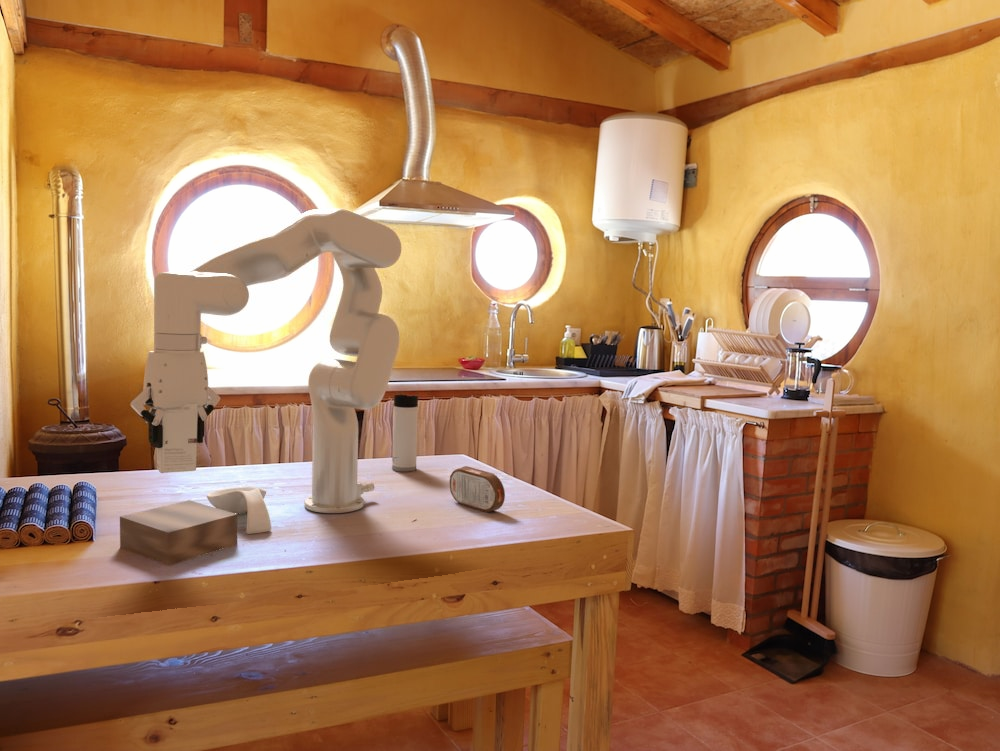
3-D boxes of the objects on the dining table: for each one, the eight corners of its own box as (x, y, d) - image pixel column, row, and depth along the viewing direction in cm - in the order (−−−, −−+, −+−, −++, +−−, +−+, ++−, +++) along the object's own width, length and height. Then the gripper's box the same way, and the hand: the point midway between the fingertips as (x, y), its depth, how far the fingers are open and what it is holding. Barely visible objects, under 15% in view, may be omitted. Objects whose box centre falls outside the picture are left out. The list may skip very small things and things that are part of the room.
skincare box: (160, 474, 137) (161, 404, 136) (155, 468, 141) (155, 401, 140) (198, 471, 141) (198, 403, 139) (192, 465, 144) (192, 399, 143)
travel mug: (388, 471, 204) (390, 394, 202) (396, 465, 210) (397, 390, 208) (412, 473, 203) (414, 395, 201) (418, 467, 209) (421, 392, 207)
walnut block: (189, 530, 152) (189, 500, 152) (237, 546, 145) (237, 514, 144) (120, 549, 141) (119, 516, 140) (168, 567, 133) (168, 532, 132)
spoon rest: (201, 506, 168) (200, 473, 167) (257, 500, 174) (257, 468, 174) (229, 539, 148) (229, 501, 148) (291, 530, 155) (291, 494, 154)
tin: (505, 513, 171) (506, 475, 170) (495, 516, 168) (496, 477, 167) (456, 499, 181) (457, 462, 180) (446, 501, 178) (447, 464, 177)
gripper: (212, 341, 147) (211, 436, 149) (117, 342, 134) (117, 446, 136) (234, 344, 143) (232, 442, 144) (138, 346, 129) (138, 454, 131)
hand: (176, 443), depth 140 cm, fingers closed on skincare box, 6 cm apart
